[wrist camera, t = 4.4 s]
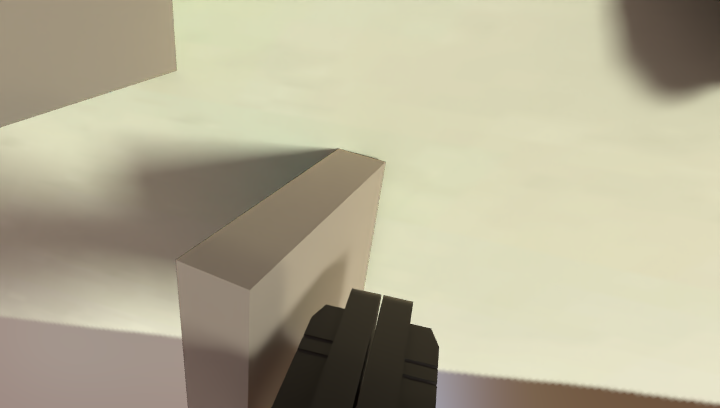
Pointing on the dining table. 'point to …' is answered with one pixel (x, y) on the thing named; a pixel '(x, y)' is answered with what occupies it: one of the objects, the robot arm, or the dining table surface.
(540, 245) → the dining table surface
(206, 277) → the beige rectangular block
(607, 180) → the dining table surface
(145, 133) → the dining table surface
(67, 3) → the beige flat slab
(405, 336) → the robot arm
